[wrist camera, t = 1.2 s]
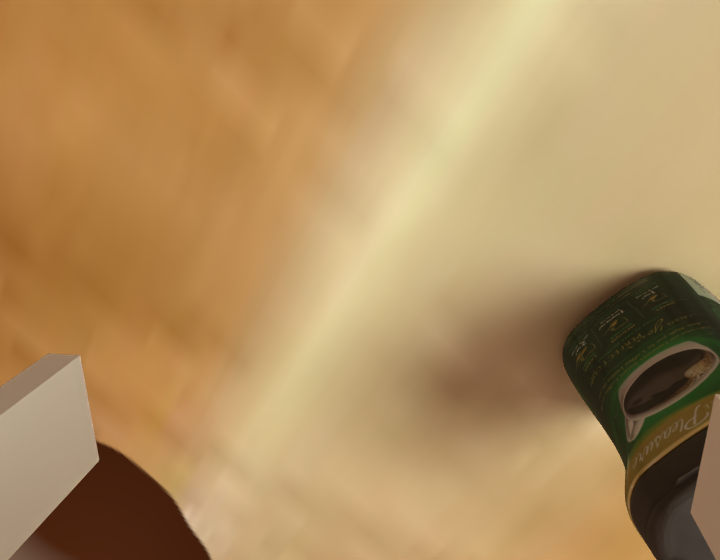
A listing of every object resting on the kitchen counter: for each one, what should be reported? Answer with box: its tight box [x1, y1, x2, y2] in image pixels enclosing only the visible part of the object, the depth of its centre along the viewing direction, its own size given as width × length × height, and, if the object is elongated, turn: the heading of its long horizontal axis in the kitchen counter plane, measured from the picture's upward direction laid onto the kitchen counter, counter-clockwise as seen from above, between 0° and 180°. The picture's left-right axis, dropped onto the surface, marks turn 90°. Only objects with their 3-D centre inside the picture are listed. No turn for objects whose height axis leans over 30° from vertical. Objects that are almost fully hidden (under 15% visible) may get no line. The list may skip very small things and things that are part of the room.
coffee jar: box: [563, 272, 720, 560], centre depth 29 cm, size 10×8×19 cm
